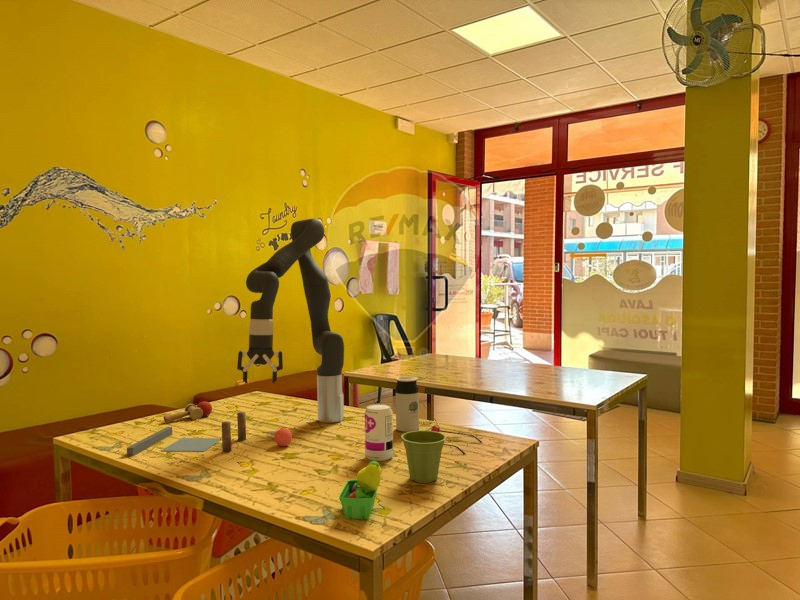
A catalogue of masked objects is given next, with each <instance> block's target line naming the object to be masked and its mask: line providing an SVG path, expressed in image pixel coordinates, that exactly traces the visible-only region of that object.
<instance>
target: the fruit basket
mask: <svg viewBox="0 0 800 600" xmlns="http://www.w3.org/2000/svg"><path fill="white" fill-rule="evenodd" d="M381 475H382V468H381V466H380V463H379V461H372V460H371V461H370V462H369V463H368V464H367V466H366V467H363V468H362V469H360V470H359V471H358V472H357V474H356V479H349V480H347V481H346V483H345V485H344V487H343V488H342V490H341V493H339V496H338V500H339V502H340V504H341V508H342V509H343V515H344V517H345V519H346V520H347V519H348V520H349V519H353V520H359V519H360V520H363V519H365V520H369V519H370V515H371V513H372V510H373V507H374V504H375V500H376V496H377V492H378V488H379V486H380V484H381Z"/></svg>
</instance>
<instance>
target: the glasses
mask: <svg viewBox="0 0 800 600" xmlns="http://www.w3.org/2000/svg"><path fill="white" fill-rule="evenodd" d="M425 431H436V432H440V433H447V434H455V435H462V436H469V437H473V438H474V439H476V440H477V441H478V442H479V443H480V442H483V441H482V440H480V439H479V438H478V437H476V436H475V435H473V434H470V433H469V434H468V433H462V432H455V431H447V430H441V429H440V425H439V424H438V425H433V426H431V427H430V428H429V429H425ZM443 446H448V447H453V448H456V449H457V450H458V451H459V452H461V453H462V455H464V454H466V452H465V451H464V450H462V449H461V448H460V447H458V446H457V445H455V444H454V445H453V444H448V443H447V444H446V443H444V444H443Z"/></svg>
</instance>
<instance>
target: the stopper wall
mask: <svg viewBox="0 0 800 600" xmlns="http://www.w3.org/2000/svg"><path fill="white" fill-rule="evenodd" d="M171 435H173V426H166V427H164V428H162V429H160V430H158V431H156V432H154V433H153V434H151V435H149V436H147V437H145V438H143V439H141V440H139V441H137V442H135V443H133V444H131V445H130V446H128V447H126V456H127V457H134V456H135V455H138V454H140V453H141V452H143V451H145V450H147V449H148V447H149V448H150V447H152V446H154V445H156V444H158V443H159V442H161V441H163V440H165V439H166V437H167V438H168V437H170V436H171ZM157 442H158V443H157ZM139 452H140V453H139Z"/></svg>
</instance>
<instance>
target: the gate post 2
mask: <svg viewBox="0 0 800 600" xmlns="http://www.w3.org/2000/svg"><path fill="white" fill-rule="evenodd" d="M236 417H237V441H238V440H239V442H240V441H241V442H243V440H244V441H246V440H247V428H246V427H247V425H246V420H247V419H246V412H245V411H238V412H237V414H236Z"/></svg>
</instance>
